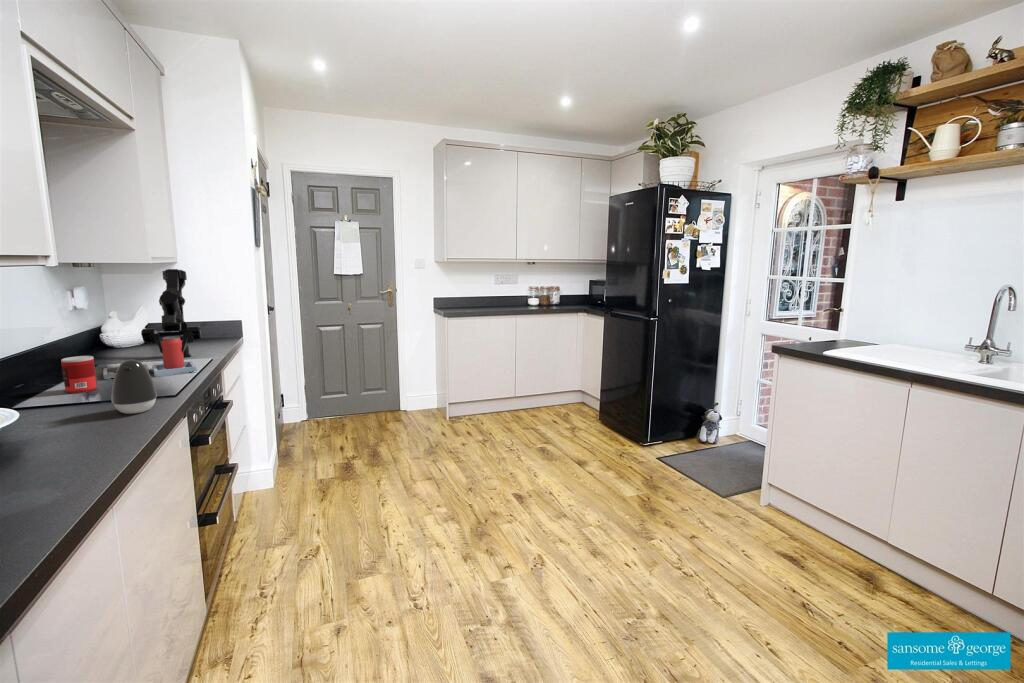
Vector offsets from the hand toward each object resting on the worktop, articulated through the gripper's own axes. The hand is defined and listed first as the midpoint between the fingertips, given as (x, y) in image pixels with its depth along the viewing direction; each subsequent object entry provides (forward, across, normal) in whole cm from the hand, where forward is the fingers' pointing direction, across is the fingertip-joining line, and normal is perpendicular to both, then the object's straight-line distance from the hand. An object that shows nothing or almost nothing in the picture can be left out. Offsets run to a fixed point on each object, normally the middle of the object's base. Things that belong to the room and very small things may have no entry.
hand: (172, 351), depth 183 cm
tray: (+5, 0, +6) cm, 8 cm away
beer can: (+4, 0, +6) cm, 7 cm away
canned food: (+19, -24, -7) cm, 31 cm away
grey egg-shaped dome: (+43, -4, -32) cm, 54 cm away
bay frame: (+3, -15, +8) cm, 18 cm away
